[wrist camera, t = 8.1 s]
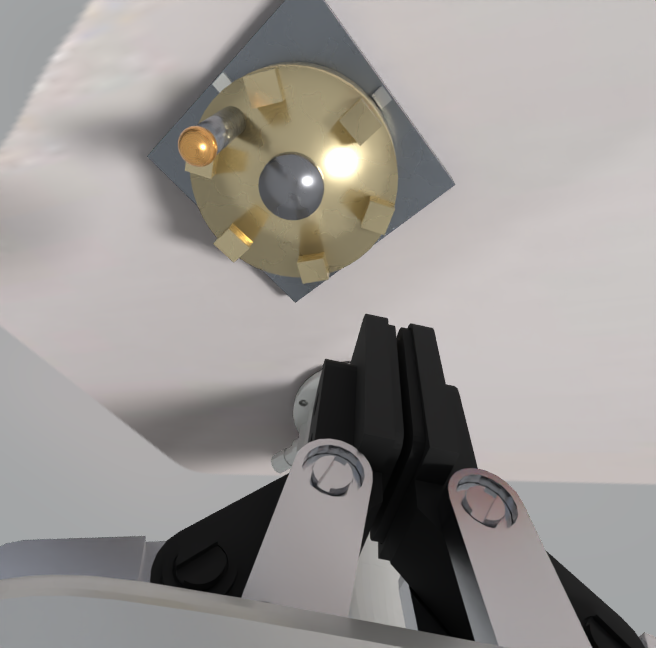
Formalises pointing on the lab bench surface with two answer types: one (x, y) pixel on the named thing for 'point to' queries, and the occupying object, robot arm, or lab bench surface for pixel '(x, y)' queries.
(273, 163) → the brass dial with handle
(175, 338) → the lab bench surface
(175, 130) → the base plate
